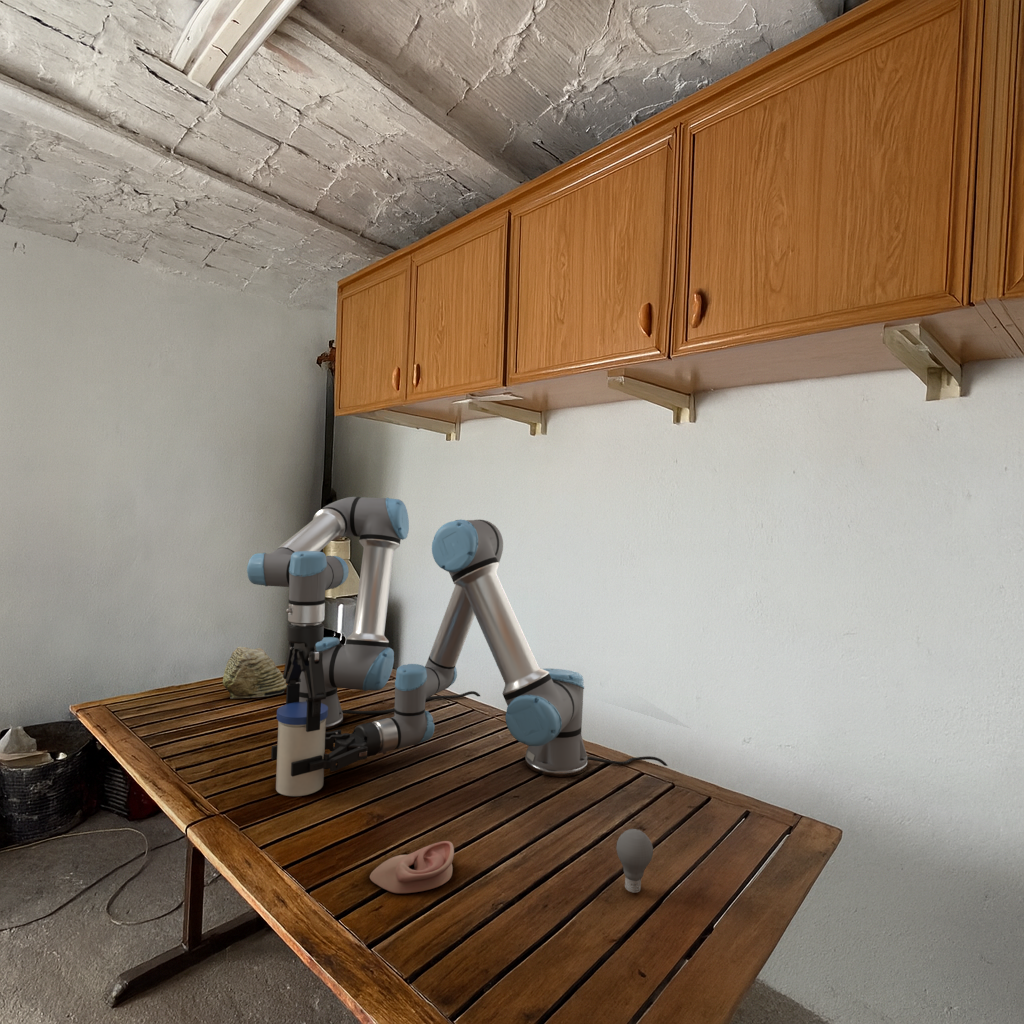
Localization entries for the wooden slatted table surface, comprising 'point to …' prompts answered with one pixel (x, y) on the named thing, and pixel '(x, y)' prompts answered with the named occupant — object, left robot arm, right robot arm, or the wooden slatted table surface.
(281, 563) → the left robot arm
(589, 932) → the wooden slatted table surface
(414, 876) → the anatomical model
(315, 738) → the jar
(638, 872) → the light bulb
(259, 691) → the fossil
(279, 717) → the lid
